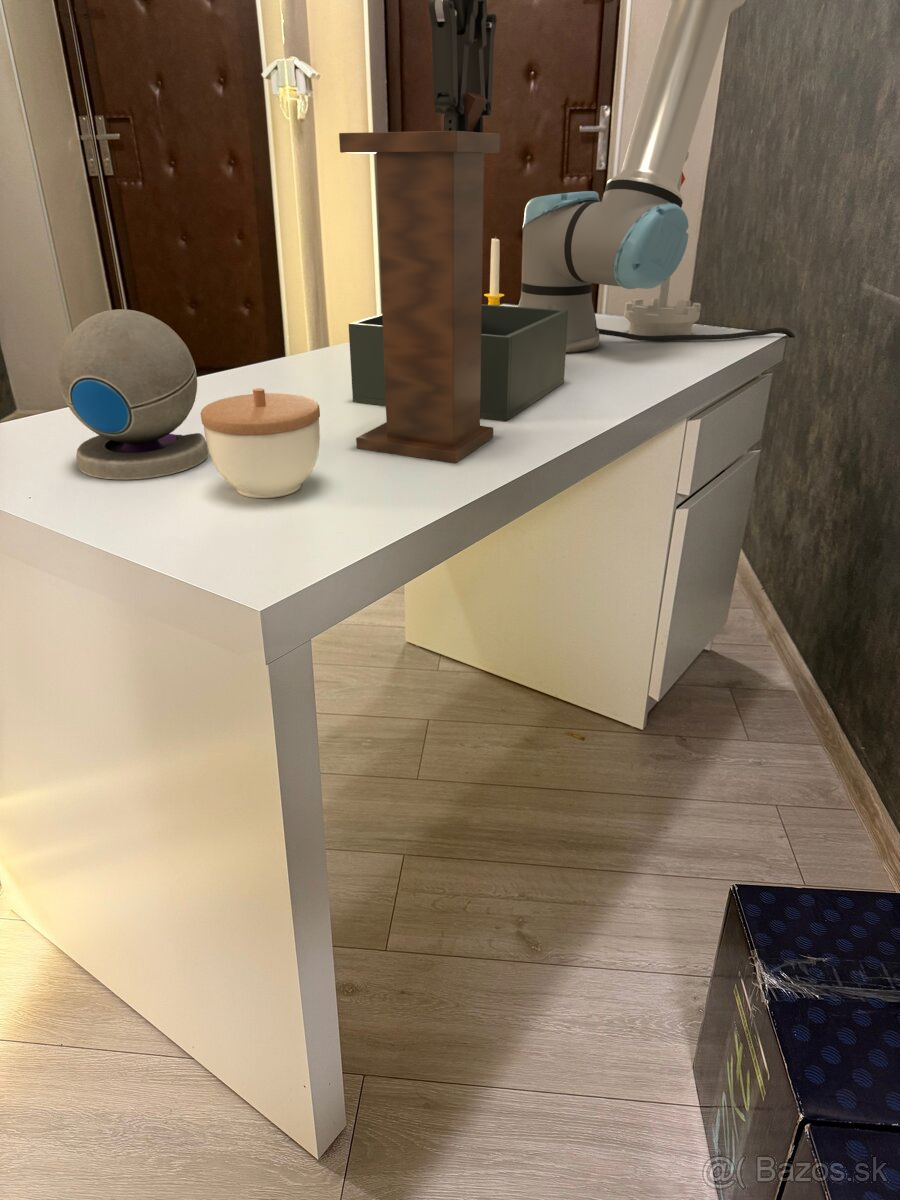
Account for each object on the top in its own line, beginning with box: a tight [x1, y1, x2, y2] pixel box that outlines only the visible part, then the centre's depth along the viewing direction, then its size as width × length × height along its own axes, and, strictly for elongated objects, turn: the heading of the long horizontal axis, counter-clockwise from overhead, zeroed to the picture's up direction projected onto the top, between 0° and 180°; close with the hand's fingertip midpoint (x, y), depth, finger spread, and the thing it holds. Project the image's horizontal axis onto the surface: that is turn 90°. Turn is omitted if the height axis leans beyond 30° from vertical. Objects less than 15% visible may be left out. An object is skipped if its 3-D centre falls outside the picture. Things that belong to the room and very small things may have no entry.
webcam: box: [57, 308, 209, 480], centre depth 83 cm, size 13×13×15 cm
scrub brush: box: [460, 93, 488, 132], centre depth 100 cm, size 17×4×3 cm
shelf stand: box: [338, 130, 501, 464], centre depth 85 cm, size 12×10×30 cm
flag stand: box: [623, 151, 702, 336], centre depth 142 cm, size 13×13×30 cm
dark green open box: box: [348, 304, 568, 422], centre depth 110 cm, size 22×22×10 cm
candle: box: [483, 235, 505, 306], centre depth 155 cm, size 5×5×16 cm
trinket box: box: [200, 387, 321, 499], centre depth 77 cm, size 11×11×9 cm
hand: (463, 177), depth 100 cm, fingers closed on scrub brush, 4 cm apart
